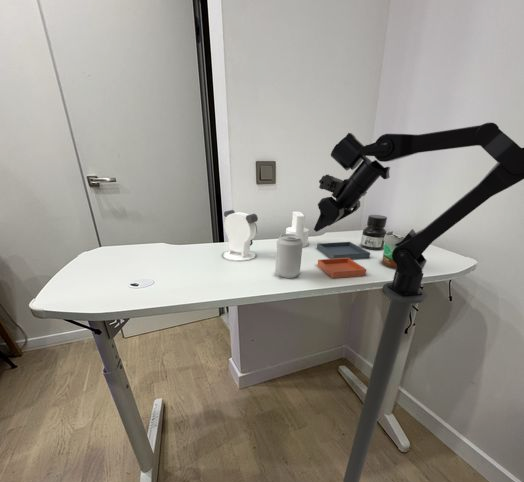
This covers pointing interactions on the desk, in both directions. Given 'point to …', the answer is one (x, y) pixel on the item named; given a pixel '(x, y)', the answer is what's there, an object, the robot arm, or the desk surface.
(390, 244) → the food container
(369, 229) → the ink bottle
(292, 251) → the can
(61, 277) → the desk surface
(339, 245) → the grey tray
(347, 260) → the terracotta tray
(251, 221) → the panda figurine
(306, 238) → the white stepped part
